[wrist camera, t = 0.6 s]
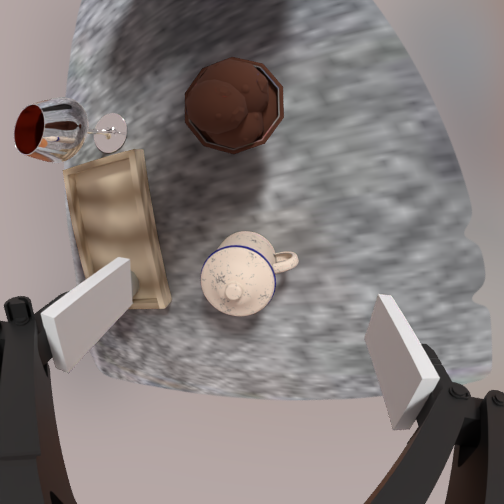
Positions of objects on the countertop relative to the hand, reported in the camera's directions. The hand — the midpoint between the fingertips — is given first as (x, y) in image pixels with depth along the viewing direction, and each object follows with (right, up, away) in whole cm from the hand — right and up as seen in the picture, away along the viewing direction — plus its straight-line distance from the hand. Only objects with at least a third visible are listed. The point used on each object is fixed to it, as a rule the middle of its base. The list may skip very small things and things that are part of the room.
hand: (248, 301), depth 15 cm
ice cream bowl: (-1, +21, +23) cm, 31 cm away
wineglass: (-22, +21, +26) cm, 40 cm away
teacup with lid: (+1, +2, +29) cm, 29 cm away
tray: (-21, +6, +30) cm, 37 cm away
